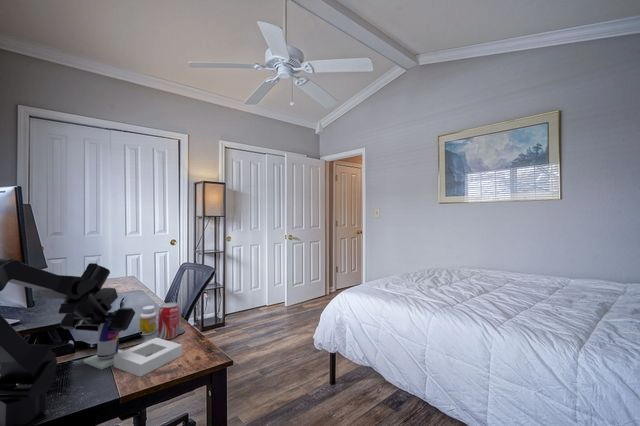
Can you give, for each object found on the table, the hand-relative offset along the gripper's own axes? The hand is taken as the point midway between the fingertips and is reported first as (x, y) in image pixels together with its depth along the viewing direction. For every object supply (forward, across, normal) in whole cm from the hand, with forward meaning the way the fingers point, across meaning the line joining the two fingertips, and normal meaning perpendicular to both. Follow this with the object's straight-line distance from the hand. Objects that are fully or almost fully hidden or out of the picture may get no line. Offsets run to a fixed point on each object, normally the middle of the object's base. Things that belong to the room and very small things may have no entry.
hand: (111, 330), depth 93 cm
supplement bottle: (+20, 0, -8) cm, 21 cm away
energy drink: (+4, 0, +6) cm, 8 cm away
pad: (+5, 0, +7) cm, 9 cm away
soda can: (+18, -10, -6) cm, 21 cm away
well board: (+5, -13, +7) cm, 16 cm away
